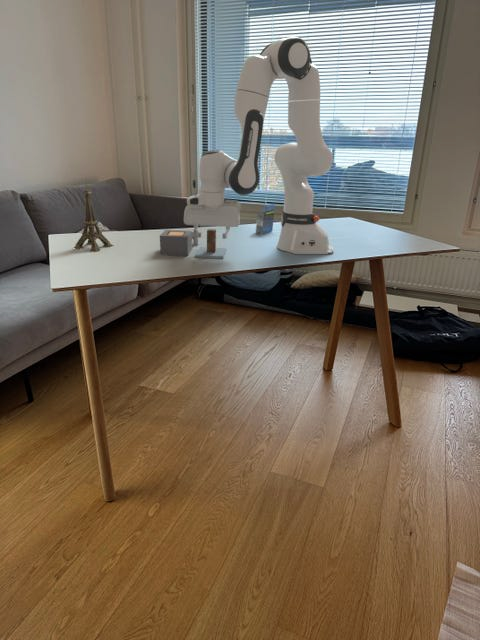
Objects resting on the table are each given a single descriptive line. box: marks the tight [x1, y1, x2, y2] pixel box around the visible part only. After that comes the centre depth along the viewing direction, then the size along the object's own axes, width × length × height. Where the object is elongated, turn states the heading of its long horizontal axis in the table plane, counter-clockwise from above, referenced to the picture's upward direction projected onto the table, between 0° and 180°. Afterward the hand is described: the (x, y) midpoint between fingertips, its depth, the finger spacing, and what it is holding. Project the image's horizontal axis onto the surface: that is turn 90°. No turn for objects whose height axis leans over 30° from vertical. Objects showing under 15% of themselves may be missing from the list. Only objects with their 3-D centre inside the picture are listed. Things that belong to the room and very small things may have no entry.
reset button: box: [168, 232, 184, 236], centre depth 157 cm, size 5×5×3 cm
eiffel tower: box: [73, 179, 114, 253], centre depth 156 cm, size 11×11×25 cm
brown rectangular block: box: [206, 228, 217, 253], centre depth 157 cm, size 3×3×8 cm
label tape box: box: [255, 203, 275, 234], centre depth 194 cm, size 9×4×12 cm, turn 144°
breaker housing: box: [159, 229, 193, 257], centre depth 158 cm, size 10×10×7 cm
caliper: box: [192, 228, 199, 246], centre depth 177 cm, size 20×1×6 cm, turn 22°
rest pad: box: [195, 246, 227, 259], centre depth 158 cm, size 10×12×1 cm
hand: (211, 237), depth 156 cm, fingers open, 8 cm apart
